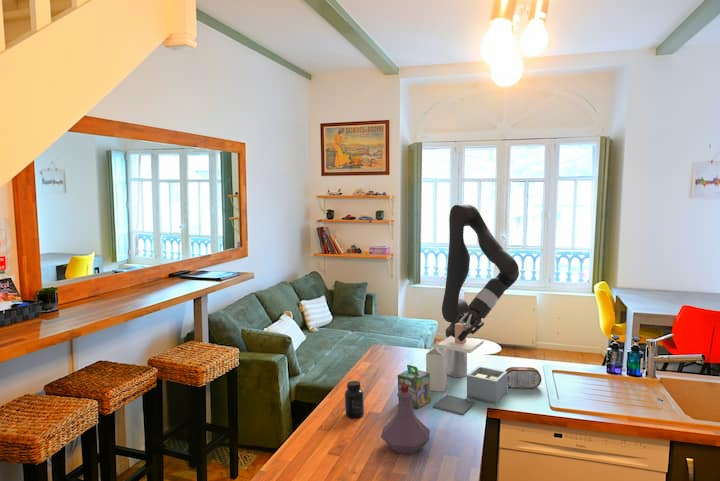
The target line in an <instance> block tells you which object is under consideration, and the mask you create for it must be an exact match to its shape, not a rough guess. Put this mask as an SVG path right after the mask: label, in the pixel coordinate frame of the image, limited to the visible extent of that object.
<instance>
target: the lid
mask: <svg viewBox="0 0 720 481" xmlns="http://www.w3.org/2000/svg"><path fill="white" fill-rule="evenodd" d="M465 327H466V323H459V322H458V323H456V324H455V338H454V337H452V336H450V337H448V338H446V337H445V339H443V340H441V341H440V342H439V343H438V344H437V347H439V348H444V349H445V350H446V349H450V350H455V351H461V352H467V354H471V353H472V352H474V351H475V350H477V349H478V348H479V347H481V346H482V345H484V341H485V340H483V339H478V338H472V337H467V338H466V337H465V339H464V340H463V341H460V340H459V339H458V336H459V335H460V334H461V332H462V331H463V330H464V329H465ZM464 331H465V330H464Z"/></svg>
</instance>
